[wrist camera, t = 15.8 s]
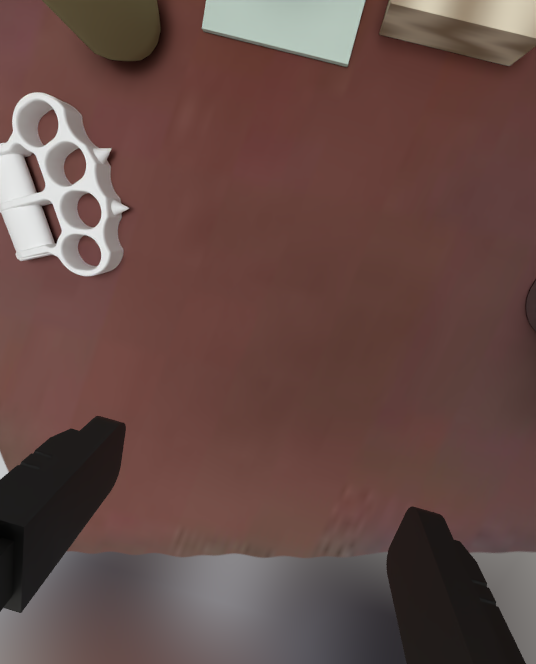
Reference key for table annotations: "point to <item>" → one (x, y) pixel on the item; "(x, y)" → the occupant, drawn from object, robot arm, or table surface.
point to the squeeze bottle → (112, 25)
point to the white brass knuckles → (57, 188)
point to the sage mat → (289, 25)
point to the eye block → (465, 26)
